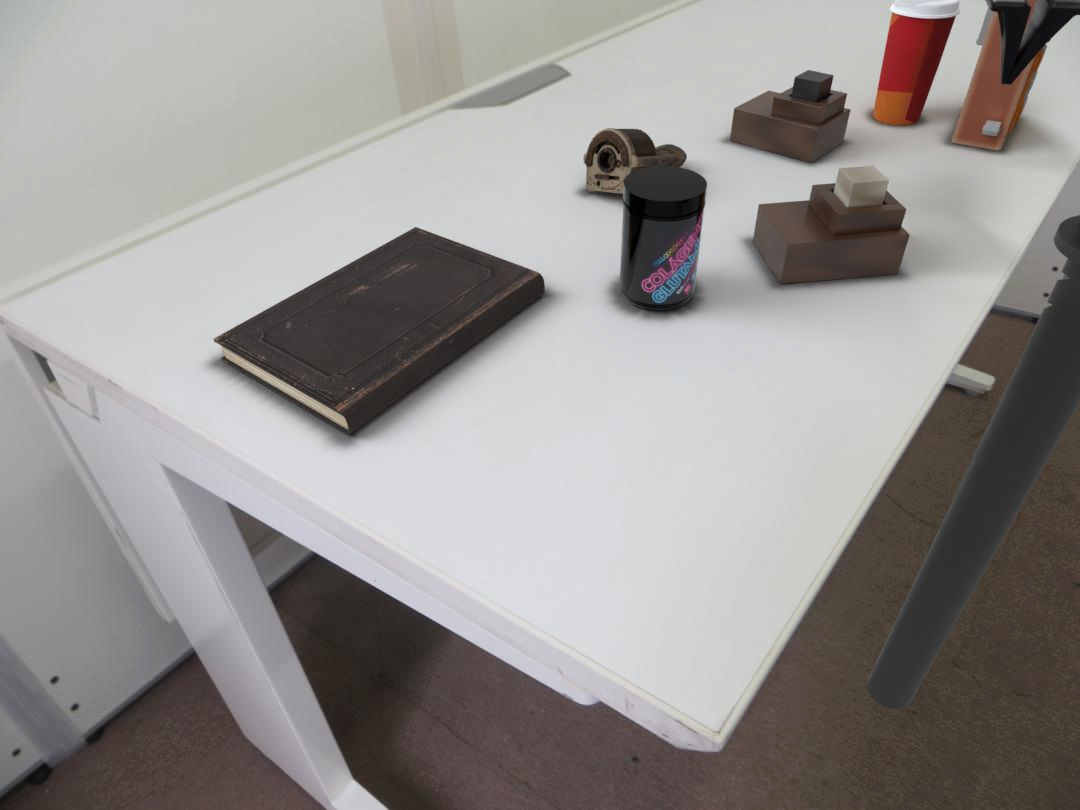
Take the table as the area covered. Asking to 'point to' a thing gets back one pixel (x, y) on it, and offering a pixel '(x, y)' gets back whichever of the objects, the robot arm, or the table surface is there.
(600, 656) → the table surface
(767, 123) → the push button base
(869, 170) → the ivory key
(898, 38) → the paper cup
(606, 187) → the mechanical counter
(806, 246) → the brown push button box
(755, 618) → the table surface
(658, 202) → the supplement container
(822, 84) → the black key
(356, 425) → the hardcover book
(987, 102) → the control panel
